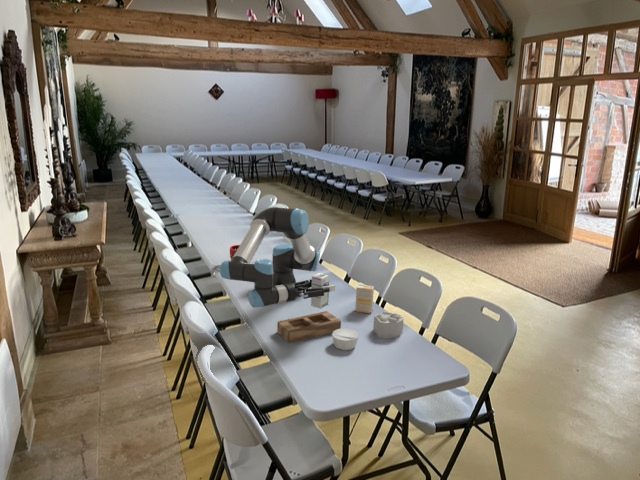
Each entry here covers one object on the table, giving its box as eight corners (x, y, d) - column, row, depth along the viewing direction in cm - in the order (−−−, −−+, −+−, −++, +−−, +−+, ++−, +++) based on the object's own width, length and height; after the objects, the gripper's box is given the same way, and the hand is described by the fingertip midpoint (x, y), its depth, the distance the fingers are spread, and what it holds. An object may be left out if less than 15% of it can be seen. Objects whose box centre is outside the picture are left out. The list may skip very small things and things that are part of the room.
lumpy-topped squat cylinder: (371, 328, 219) (372, 311, 216) (396, 325, 222) (398, 308, 220) (380, 338, 209) (381, 320, 207) (406, 336, 213) (408, 318, 210)
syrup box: (321, 309, 208) (322, 278, 205) (310, 305, 212) (311, 275, 208) (328, 305, 213) (330, 275, 209) (317, 302, 216) (319, 272, 212)
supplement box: (372, 310, 238) (374, 286, 235) (371, 314, 234) (372, 289, 230) (356, 308, 240) (358, 283, 237) (354, 311, 236) (356, 287, 233)
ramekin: (336, 353, 195) (336, 341, 194) (328, 340, 205) (328, 329, 204) (361, 350, 198) (362, 338, 197) (352, 338, 209) (353, 327, 207)
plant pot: (236, 270, 289) (236, 251, 286) (226, 264, 298) (225, 246, 295) (254, 266, 297) (254, 248, 294) (244, 261, 307) (244, 243, 303)
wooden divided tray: (277, 332, 211) (277, 321, 210) (326, 320, 224) (326, 310, 223) (290, 343, 201) (290, 332, 200) (340, 330, 215) (341, 320, 213)
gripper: (273, 293, 210) (317, 285, 222) (295, 310, 193) (341, 300, 205) (274, 277, 208) (318, 270, 220) (296, 293, 191) (342, 284, 203)
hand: (329, 285), depth 212 cm, fingers closed on syrup box, 7 cm apart
